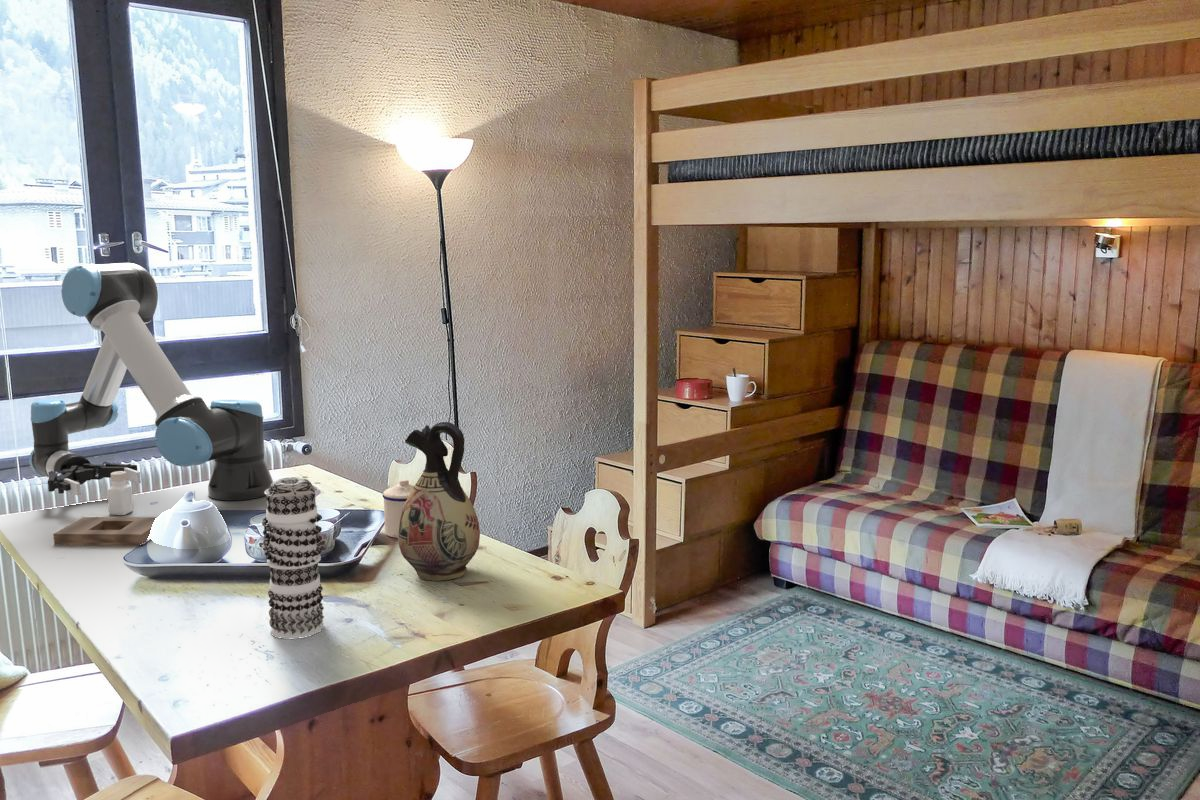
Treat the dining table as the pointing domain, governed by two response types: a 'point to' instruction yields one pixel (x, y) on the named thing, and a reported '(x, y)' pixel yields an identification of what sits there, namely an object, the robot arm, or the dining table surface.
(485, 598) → the dining table surface
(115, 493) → the salt shaker
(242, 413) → the robot arm
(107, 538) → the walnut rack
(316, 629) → the decorative candle
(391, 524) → the teacup with lid
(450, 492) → the ceramic jug
